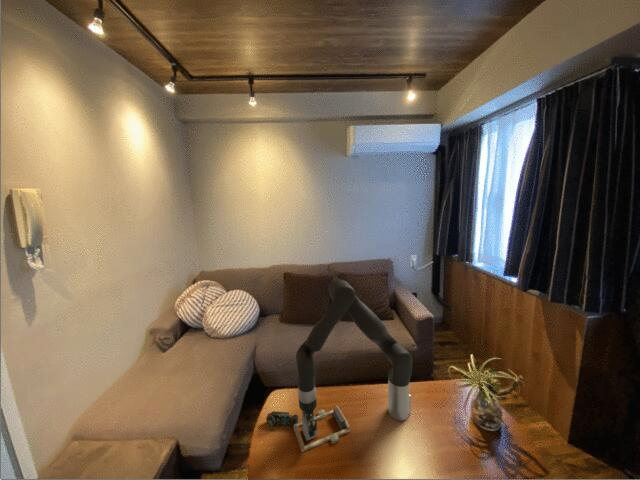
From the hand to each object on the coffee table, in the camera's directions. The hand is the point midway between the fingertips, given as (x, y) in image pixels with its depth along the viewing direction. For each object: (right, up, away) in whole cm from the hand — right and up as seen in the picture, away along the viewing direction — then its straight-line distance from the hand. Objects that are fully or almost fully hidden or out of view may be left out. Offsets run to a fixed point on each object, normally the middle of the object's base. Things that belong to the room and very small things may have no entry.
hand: (309, 429), depth 109 cm
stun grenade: (-13, -2, +5) cm, 14 cm away
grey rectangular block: (0, -2, 0) cm, 2 cm away
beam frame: (+5, -1, +2) cm, 6 cm away
